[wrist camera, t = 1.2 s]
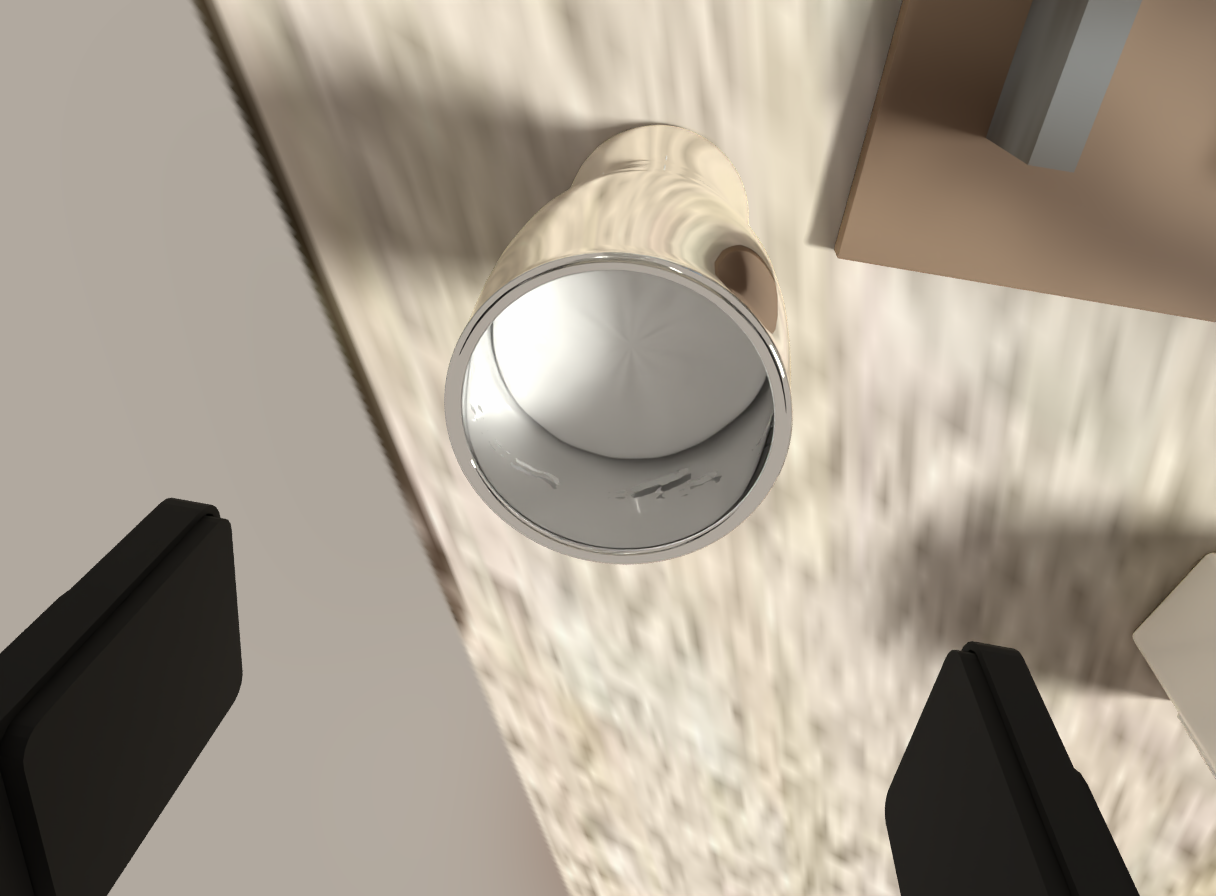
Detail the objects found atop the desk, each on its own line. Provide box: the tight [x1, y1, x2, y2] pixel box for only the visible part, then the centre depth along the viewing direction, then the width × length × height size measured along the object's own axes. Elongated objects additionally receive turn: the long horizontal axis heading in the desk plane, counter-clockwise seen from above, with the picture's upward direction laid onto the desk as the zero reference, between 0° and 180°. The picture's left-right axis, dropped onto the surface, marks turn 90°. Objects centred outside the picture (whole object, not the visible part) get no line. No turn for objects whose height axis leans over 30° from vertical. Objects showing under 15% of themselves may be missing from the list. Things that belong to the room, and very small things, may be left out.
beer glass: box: [444, 125, 793, 565], centre depth 23 cm, size 7×7×15 cm
